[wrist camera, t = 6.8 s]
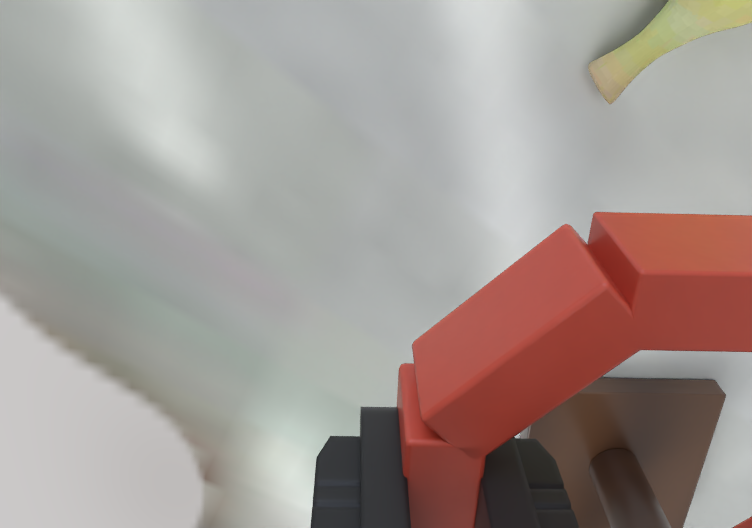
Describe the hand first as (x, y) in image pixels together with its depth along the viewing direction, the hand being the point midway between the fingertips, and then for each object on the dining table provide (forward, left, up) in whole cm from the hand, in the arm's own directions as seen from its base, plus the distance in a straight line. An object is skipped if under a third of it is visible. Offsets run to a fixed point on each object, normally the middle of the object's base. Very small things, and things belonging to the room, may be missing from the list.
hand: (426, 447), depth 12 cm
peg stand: (+11, -15, -17) cm, 26 cm away
